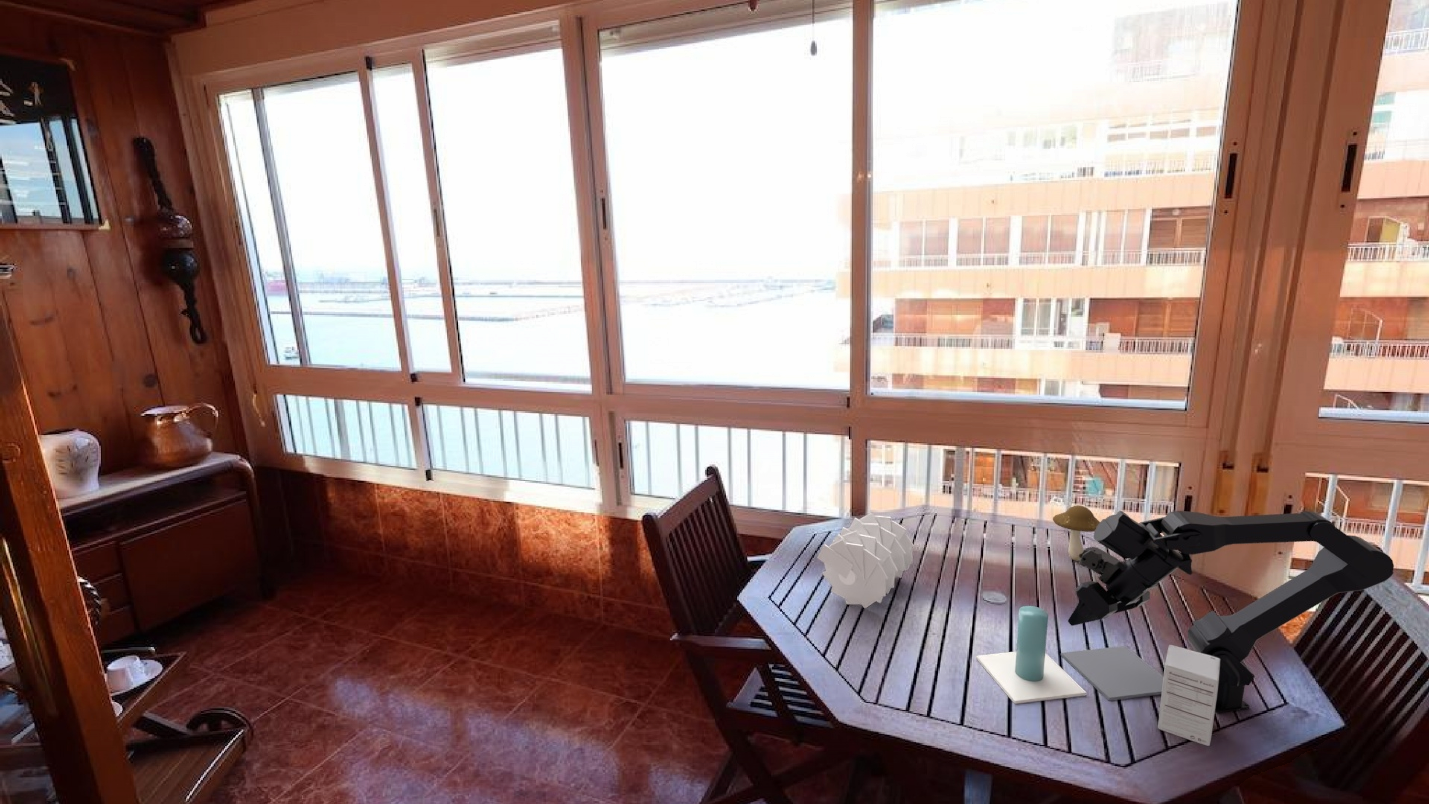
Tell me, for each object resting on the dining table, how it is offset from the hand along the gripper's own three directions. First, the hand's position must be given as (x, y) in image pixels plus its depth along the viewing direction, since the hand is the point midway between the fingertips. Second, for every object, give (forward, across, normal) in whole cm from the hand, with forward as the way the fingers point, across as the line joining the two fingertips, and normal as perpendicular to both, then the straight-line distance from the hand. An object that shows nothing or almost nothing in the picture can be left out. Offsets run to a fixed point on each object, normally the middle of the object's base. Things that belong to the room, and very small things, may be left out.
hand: (1081, 619), depth 126 cm
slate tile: (+5, -7, +10) cm, 13 cm away
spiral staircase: (+36, +4, -33) cm, 49 cm away
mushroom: (+14, -48, -19) cm, 53 cm away
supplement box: (-1, -1, +22) cm, 22 cm away
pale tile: (+13, +6, +3) cm, 15 cm away
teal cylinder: (+13, +6, +3) cm, 14 cm away
